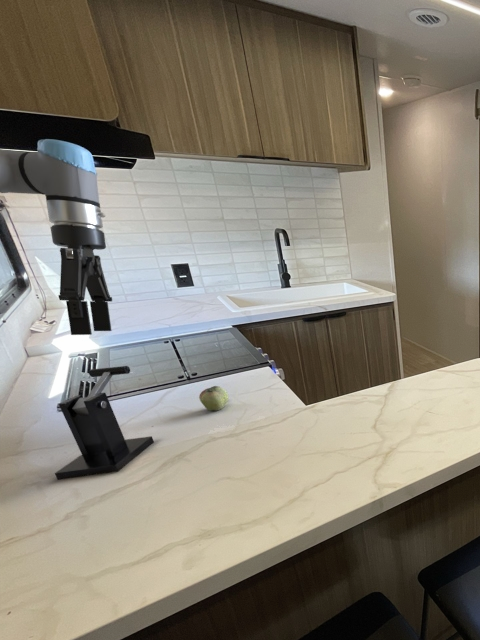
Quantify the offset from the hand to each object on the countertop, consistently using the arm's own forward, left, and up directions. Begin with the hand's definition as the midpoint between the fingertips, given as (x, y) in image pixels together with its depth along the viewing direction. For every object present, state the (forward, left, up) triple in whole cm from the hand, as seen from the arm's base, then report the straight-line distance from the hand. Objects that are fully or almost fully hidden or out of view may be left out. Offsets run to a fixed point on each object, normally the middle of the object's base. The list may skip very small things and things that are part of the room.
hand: (93, 332), depth 84 cm
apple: (+13, +12, -24) cm, 30 cm away
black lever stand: (+2, -11, -24) cm, 27 cm away
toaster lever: (+2, -7, -11) cm, 13 cm away
